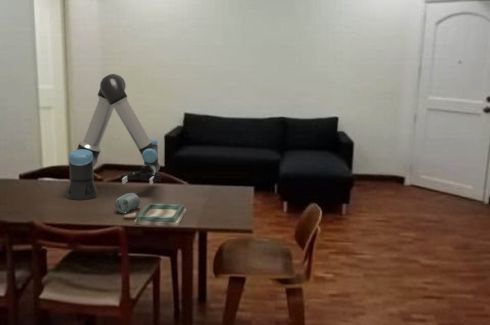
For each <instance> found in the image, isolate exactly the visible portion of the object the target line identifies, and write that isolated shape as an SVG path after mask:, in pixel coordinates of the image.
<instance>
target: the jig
mask: <svg viewBox="0 0 490 325" xmlns="http://www.w3.org/2000/svg"><path fill="white" fill-rule="evenodd" d="M186 213H187V208H185V205H184V204H168V203H167V204H166V203H147V204H146V205H145V206H144V208H142V210H141V211H140V212H139V213H138V214H137V216H136V219H134V221H133V225H134V224H138V226H139V225H140V226H160V227H161V226H162V227H178V226H179V225H180V223H181V221H182V219H183V218H184V216H185V214H186Z"/></svg>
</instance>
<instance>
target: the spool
mask: <svg viewBox="0 0 490 325" xmlns="http://www.w3.org/2000/svg"><path fill="white" fill-rule="evenodd" d="M140 204H141V200H140V197H139V196H138V195H137V194H136V193H135V192H129V193H124V194H123V195H121V196H119V197H118V198H116V199H115V202H114V206H115V208H116V210H117V211H118V213H120V214H126V213H125V212H127V213H128V211H129V212H130V210H131V211H133V210H135V209H137V208H139V206H141V205H140ZM134 208H135V209H134ZM132 209H133V210H132Z"/></svg>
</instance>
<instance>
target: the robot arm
mask: <svg viewBox="0 0 490 325" xmlns="http://www.w3.org/2000/svg"><path fill="white" fill-rule="evenodd" d="M99 87H100V88H99V90H98V93H97V97H98V101H97V104H96V106H95V109H94V111H93V115H92V118H91V119H90V122H89V125H88V128H87V130H86V133H85V135H84V138H83V140H82V141H80V142H79V143H78V146H77V147H76V148H77V149H75V150H72V151H70V152H69V154H68V164H69V167H68V168H69V184H68V188H67V192H66V198H67V199H70V200H74V201H75V200H76V201H79V200H83V201H84V200H92V199H94V198H97V197H98V196H99V194H98V193H99V192H98V188H97V186H96V184H95V182H94V180H95V179H94V167H95V166H96V165H97V164H98V159H99V156H100V154H101V148H100V145H101V142H102V140H103V137H104V135H105V132H106V130H107V127H108V125H109V121H110V119H111V117H112V115H113V114H112V113H113V112H114V110H115V112H116V113H117V115H118V117H119V119H120V121H121V122H122V124H123V125H124V127H125V129H126V130H127V132H128V134H129V135H130V138H131V139H132V141H133V142H134V144H135V146H136V147H137V149H138V151H139V153H140V155H141V158H142V160H143V165H142V166H141V168H140V169H138V171H136V172H134V171H131V172H128V173H125V174H121V175H120V181H121V184H122V185H125V184H126V183H127V182H128V181H131V180H142V181H145V182H146V181H149V185H150V186H151V185H153V183H155V182H157V181H158V182H161V181H162V179H161V175H160V174H159V173H158V172H159V171H160V168H161V165H160V162H159V152H158V148H159V146H158V140H157V139H154V138H153V139H150V137H149V136H148V134H147V133H146V131H145V128H144V127H143V125H142V123H141V122H140V120H139V118H138V117H137V114H136V113H135V111H134V109H133V108H132V105H130V103H129V100H128V95H127V93H126V91H125V90H126V81H125V79H124V78H123V77H122V76H121V75H119V74H116V73H110V74H107V75H105V76H103V78H102V79H101V81H100V84H99Z"/></svg>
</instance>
